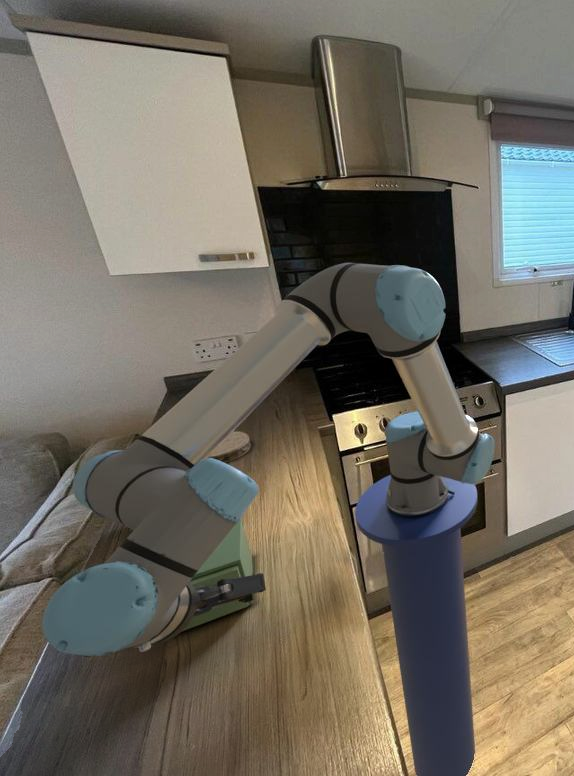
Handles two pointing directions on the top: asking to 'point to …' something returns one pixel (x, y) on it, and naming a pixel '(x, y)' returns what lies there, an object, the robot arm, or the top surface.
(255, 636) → the top surface
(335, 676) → the top surface
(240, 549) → the cabinet
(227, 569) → the drawer
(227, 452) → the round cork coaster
